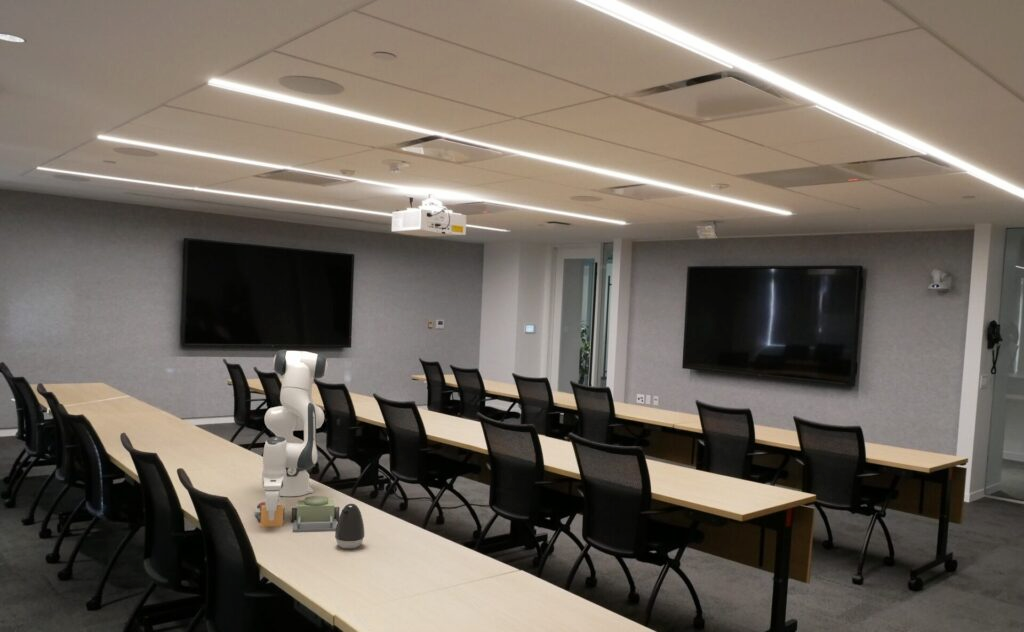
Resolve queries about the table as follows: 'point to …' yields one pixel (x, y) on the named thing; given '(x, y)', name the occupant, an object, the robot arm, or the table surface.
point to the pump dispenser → (350, 527)
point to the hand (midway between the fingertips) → (272, 516)
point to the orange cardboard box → (277, 516)
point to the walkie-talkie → (259, 510)
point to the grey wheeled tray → (315, 515)
